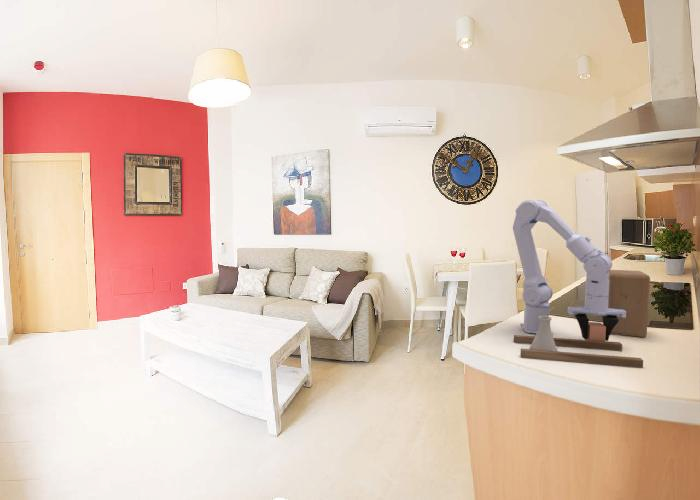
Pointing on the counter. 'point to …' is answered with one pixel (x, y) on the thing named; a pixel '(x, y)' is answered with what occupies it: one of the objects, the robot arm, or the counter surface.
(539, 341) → the flask
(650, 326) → the counter surface
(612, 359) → the strip
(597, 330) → the block
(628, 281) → the wooden block
